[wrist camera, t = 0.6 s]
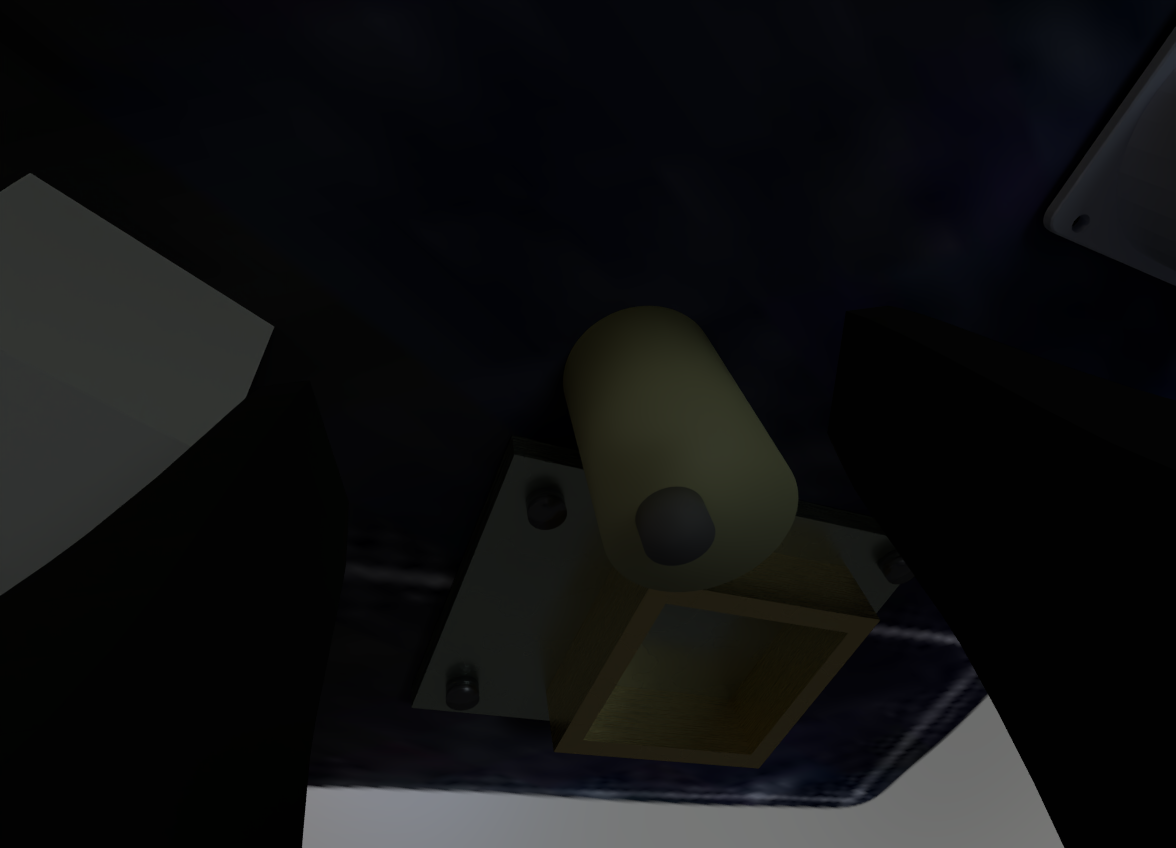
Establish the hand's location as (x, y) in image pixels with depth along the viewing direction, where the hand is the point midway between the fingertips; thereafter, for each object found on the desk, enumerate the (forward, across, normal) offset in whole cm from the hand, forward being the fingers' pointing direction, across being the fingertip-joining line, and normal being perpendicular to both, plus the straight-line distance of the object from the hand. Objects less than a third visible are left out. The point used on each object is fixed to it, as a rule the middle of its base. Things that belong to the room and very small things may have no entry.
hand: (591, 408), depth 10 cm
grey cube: (+10, +11, +3) cm, 16 cm away
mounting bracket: (+10, -3, +16) cm, 20 cm away
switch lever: (+10, -3, +6) cm, 12 cm away
